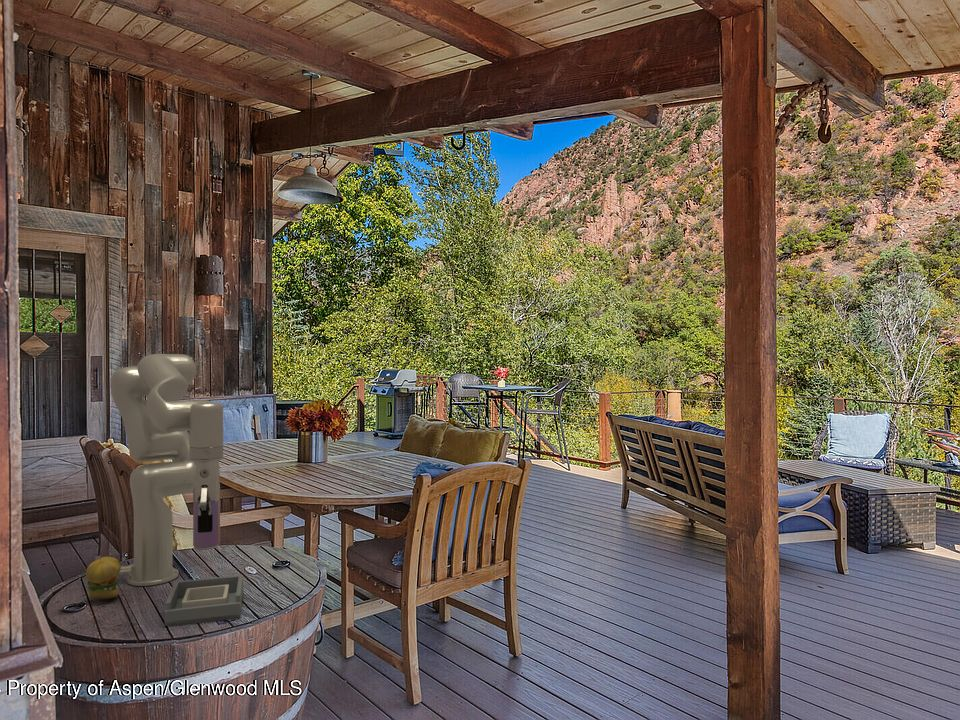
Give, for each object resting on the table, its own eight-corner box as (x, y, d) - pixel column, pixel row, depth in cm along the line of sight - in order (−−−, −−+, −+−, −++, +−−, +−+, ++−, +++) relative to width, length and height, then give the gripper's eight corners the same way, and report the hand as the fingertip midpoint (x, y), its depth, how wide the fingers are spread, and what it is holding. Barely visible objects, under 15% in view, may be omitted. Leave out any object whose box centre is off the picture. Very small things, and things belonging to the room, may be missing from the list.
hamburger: (126, 594, 164) (126, 548, 164) (113, 605, 156) (113, 556, 156) (94, 596, 163) (94, 549, 163) (79, 607, 156) (79, 557, 156)
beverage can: (210, 551, 150) (210, 487, 150) (187, 549, 152) (187, 486, 152) (225, 544, 156) (225, 482, 156) (203, 542, 157) (203, 481, 157)
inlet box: (164, 627, 144) (164, 604, 144) (174, 601, 159) (174, 581, 159) (240, 618, 149) (240, 596, 149) (243, 594, 164) (243, 574, 164)
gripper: (220, 458, 147) (220, 536, 147) (225, 448, 163) (225, 518, 163) (184, 459, 145) (184, 539, 145) (193, 449, 161) (193, 521, 161)
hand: (206, 527), depth 154 cm, fingers closed on beverage can, 5 cm apart
